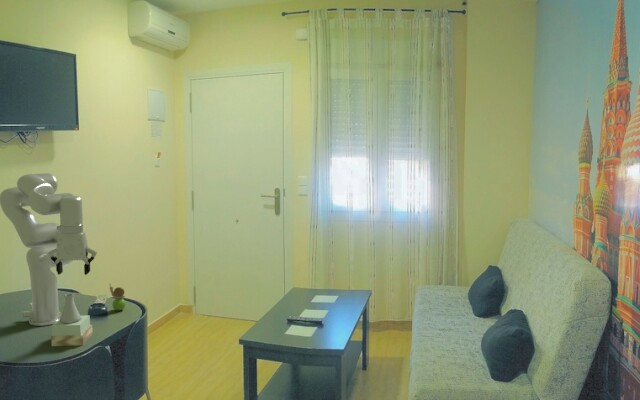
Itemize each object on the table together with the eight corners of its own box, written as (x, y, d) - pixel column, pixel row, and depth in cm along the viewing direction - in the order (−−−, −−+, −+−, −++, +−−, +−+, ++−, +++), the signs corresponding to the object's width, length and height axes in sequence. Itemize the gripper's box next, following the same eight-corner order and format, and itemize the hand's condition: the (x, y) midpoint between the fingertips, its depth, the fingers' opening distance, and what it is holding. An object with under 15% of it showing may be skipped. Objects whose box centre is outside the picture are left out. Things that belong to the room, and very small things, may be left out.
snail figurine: (112, 308, 231) (111, 282, 230) (127, 308, 232) (126, 281, 230) (108, 312, 226) (107, 285, 224) (123, 312, 226) (122, 285, 225)
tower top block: (52, 336, 191) (51, 325, 190) (63, 325, 201) (62, 315, 200) (80, 335, 192) (80, 325, 191) (90, 325, 201) (89, 315, 201)
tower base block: (51, 347, 191) (51, 336, 190) (62, 335, 201) (62, 325, 201) (83, 346, 192) (82, 335, 191) (92, 334, 203) (92, 324, 202)
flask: (85, 318, 197) (84, 293, 196) (69, 325, 191) (67, 298, 189) (71, 316, 200) (70, 290, 199) (55, 322, 193) (53, 296, 192)
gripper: (43, 231, 190) (45, 276, 193) (92, 231, 192) (94, 276, 195) (51, 226, 198) (53, 270, 200) (99, 227, 199) (100, 270, 202)
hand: (73, 273), depth 197 cm, fingers open, 9 cm apart
